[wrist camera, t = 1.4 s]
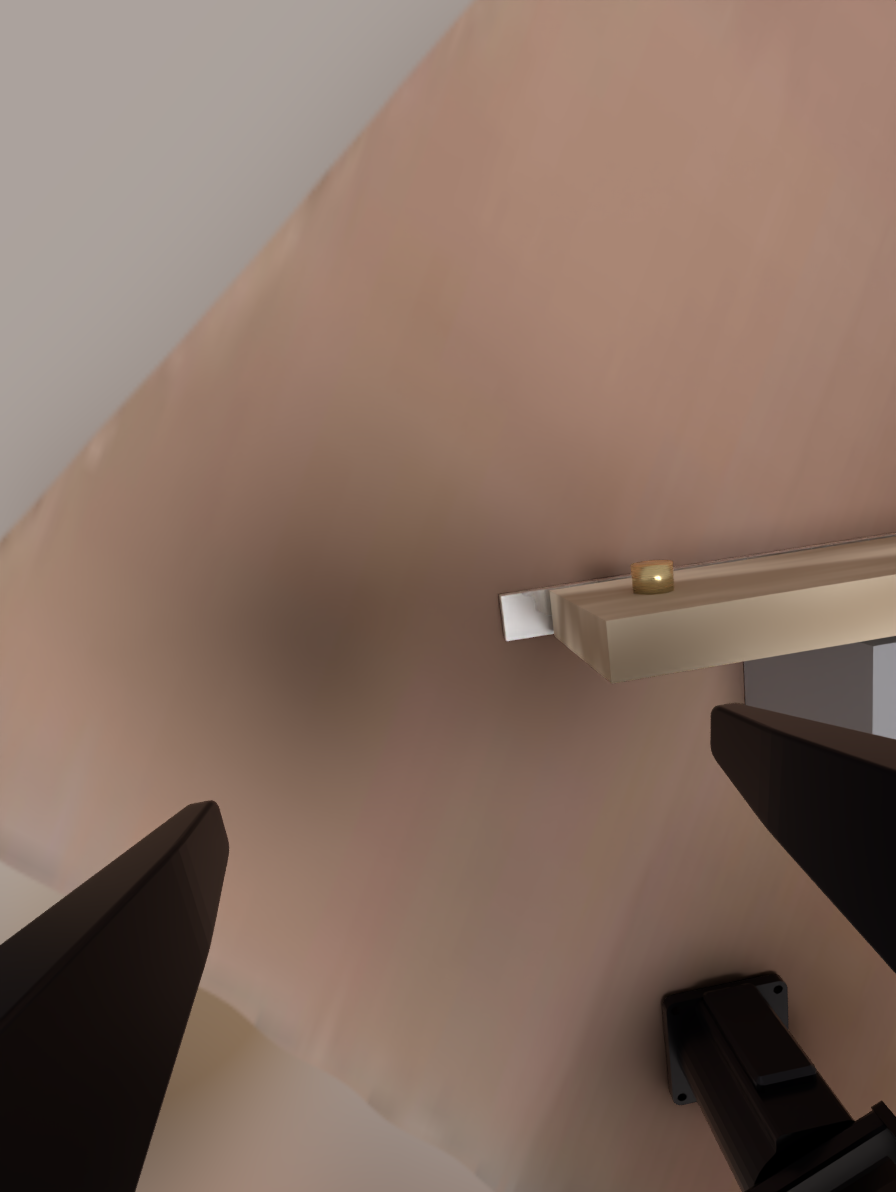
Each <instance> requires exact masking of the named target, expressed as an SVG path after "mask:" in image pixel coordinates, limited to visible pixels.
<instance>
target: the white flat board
mask: <svg viewBox="0 0 896 1192" xmlns="http://www.w3.org/2000/svg"><path fill="white" fill-rule="evenodd" d="M894 536H896V532H895V533H889V534H882V535H876V536H869V537H863V538H856V539H850V540H844V541H837V542H831V543H824V544H818V545H812V546H805V547H799V548H792V549H786V550H779V551H773V552H767V553H760V554H754V555H747V556H741V557H735V558H728V559H722V560H715V561H709V562H702V563H696V564H690V565H683V566H677V567H673V571H677V570H683V569H690V568H696V567H702V566H709V565H715V564H722V563H728V562H734V561H741V560H747V559H754V558H760V557H766V556H773V555H779V554H786V553H792V552H798V551H805V550H811V549H818V548H824V547H830V546H837V545H843V544H850V543H856V542H862V541H869V540H875V539H882V538H888V537H894ZM626 578H632V575H631V574H626V575H619V576H613V577H606V578H600V579H593V580H587V581H581V582H574V583H568V584H561V585H555V586H549V587H542V588H536V589H529V590H523V591H516V592H510V593H504V594H499V601H500V609H501V617H502V625H503V633H504V639H505V640H506V641H512V640H518V639H524V638H530V637H536V636H543V635H549V634H554V628H553V619H552V610H551V600H550V591H549V590H555V589H562V588H568V587H575V586H581V585H587V584H594V583H600V582H607V581H613V580H619V579H626Z"/></svg>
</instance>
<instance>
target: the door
mask: <svg viewBox="0 0 896 1192" xmlns="http://www.w3.org/2000/svg"><path fill="white" fill-rule="evenodd" d="M631 575H632V578H626V579H619V580H613V581H607V582H600V583H594V584H587V585H581V586H575V587H568V588H562V589H555V590H549V591H550V600H551V610H552V619H553V628H554V636H555V637H556V638H557V639H558V640H559V641H561V642H562V643H563V644H564V645H565V646H567V647H568V648H569V649H570V650H572V651H573V652H574V653H575V654H576V655H578V656H579V657H580V658H581V659H582V660H584V661H585V662H586V663H587V664H588V665H590V666H591V667H592V668H593V669H594V670H596V671H597V672H598V673H599V674H600V675H602V676H603V677H604V678H605V679H606V680H608V681H609V682H610V683H611V684H613V683H619V682H625V681H631V680H637V679H643V678H649V677H655V676H661V675H667V674H672V673H678V672H684V671H690V670H696V669H702V668H708V667H714V666H720V665H726V664H732V663H738V662H743V661H749V660H755V659H761V658H767V657H773V656H779V655H785V654H791V653H797V652H803V651H809V650H814V649H820V648H826V647H832V646H838V645H844V644H850V643H856V642H862V641H868V640H874V639H880V638H885V637H891V636H896V536H894V537H888V538H882V539H875V540H869V541H862V542H856V543H850V544H843V545H837V546H830V547H824V548H818V549H811V550H805V551H798V552H792V553H786V554H779V555H773V556H766V557H760V558H754V559H747V560H741V561H734V562H728V563H722V564H715V565H709V566H702V567H696V568H690V569H683V570H677V571H673V561H670V560H651V561H642V562H637V563H633V564H631Z"/></svg>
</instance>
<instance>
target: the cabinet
mask: <svg viewBox="0 0 896 1192" xmlns="http://www.w3.org/2000/svg"><path fill="white" fill-rule="evenodd" d="M744 679H745V705H748V706H753V707H757V708H761V709H766V710H770V711H775V712H779V713H783V714H788V715H792V716H796V717H801V718H805V719H809V720H814V721H818V722H822V723H827V724H831V725H835V726H840V727H844V728H849V729H853V730H857V731H862V732H866V733H870V734H875V735H879V736H883V737H888V738H892V739H896V636H891V637H885V638H880V639H874V640H868V641H862V642H856V643H850V644H844V645H838V646H832V647H826V648H820V649H814V650H809V651H803V652H797V653H791V654H785V655H779V656H773V657H767V658H761V659H755V660H749V661H744Z"/></svg>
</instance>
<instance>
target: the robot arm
mask: <svg viewBox="0 0 896 1192" xmlns="http://www.w3.org/2000/svg"><path fill="white" fill-rule="evenodd" d="M710 745H711V751H712V754H713V756H714V758H715V760H716V761H717V763H718V764H719V765H720V767H721V768H722V769H723V771H724V772H725V773H726V775H727V776H728V777H729V779H730V780H731V782H732V783H733V784H734V786H735V787H736V788H737V790H738V791H739V792H740V794H741V795H742V796H743V798H744V799H745V800H746V802H747V803H748V804H749V806H750V807H751V809H752V810H753V811H754V813H755V814H756V815H757V817H758V818H759V819H760V820H761V822H762V823H763V824H764V826H765V827H766V828H767V829H768V831H769V832H770V833H771V834H772V835H773V836H774V838H775V839H776V840H777V841H778V842H779V843H780V844H781V846H782V847H783V848H784V849H785V850H786V851H787V852H788V853H789V855H790V856H791V857H792V858H793V859H794V860H795V861H796V862H797V864H798V865H799V866H800V867H801V868H802V869H803V870H804V871H805V873H806V874H807V875H808V876H809V877H810V878H811V879H812V880H813V881H814V883H815V884H816V885H817V886H818V887H819V888H820V889H821V890H822V892H823V893H824V894H825V895H826V896H827V897H828V898H829V899H830V901H831V902H832V903H833V904H834V905H835V906H836V907H837V908H838V909H839V911H840V912H841V913H842V914H843V915H844V916H845V917H846V918H847V920H848V921H849V922H850V923H851V924H852V925H853V926H854V927H855V929H856V930H857V931H858V932H859V933H860V934H861V935H862V936H863V938H864V939H865V940H866V941H867V942H868V943H869V944H870V945H871V946H872V948H873V949H874V950H875V951H876V952H877V953H878V954H879V955H880V957H881V958H882V959H883V960H884V961H885V962H886V963H887V964H888V966H889V967H890V968H891V969H892V970H893V971H894V972H895V973H896V739H892V738H888V737H883V736H879V735H875V734H870V733H866V732H862V731H857V730H853V729H849V728H844V727H840V726H835V725H831V724H827V723H822V722H818V721H814V720H809V719H805V718H801V717H796V716H792V715H788V714H783V713H779V712H775V711H770V710H766V709H761V708H757V707H753V706H748V705H744V704H740V703H729V704H724V705H718V706H715V707H714V708H713V709H712V712H711V741H710ZM228 856H229V842H228V838H227V834H226V830H225V827H224V823H223V820H222V816H221V813H220V809H219V806H218V805H217V803H216V802H215V801H213V800H211V801H204V802H199V803H194V804H190V805H188V806H186V807H185V808H184V809H182V810H181V811H180V812H178V813H177V814H176V815H174V816H173V817H171V818H170V819H169V820H167V821H166V822H165V823H163V824H162V825H161V826H159V827H158V828H157V829H155V830H154V831H153V832H151V833H150V834H149V835H147V836H146V837H145V838H143V839H142V840H141V841H139V842H138V843H137V844H135V845H134V846H133V847H131V848H130V849H129V850H127V851H126V852H124V853H123V854H122V855H120V856H119V857H118V858H116V859H115V860H114V861H112V862H111V863H110V864H108V865H107V866H106V867H104V868H103V869H102V870H100V871H99V872H98V873H96V874H95V875H94V876H92V877H91V878H90V879H88V880H87V881H86V882H84V883H83V884H82V885H80V886H79V887H77V888H76V889H75V890H73V891H72V892H71V893H69V894H68V895H67V896H65V897H64V898H63V899H61V900H60V901H59V902H57V903H56V904H55V905H53V906H52V907H51V908H49V909H48V910H47V911H45V912H44V913H43V914H41V915H40V916H39V917H37V918H36V919H35V920H33V921H32V922H31V923H29V924H28V925H27V926H25V927H24V928H23V929H21V930H20V931H18V932H17V933H16V934H15V935H13V936H12V937H10V938H9V939H8V940H6V941H5V942H4V943H2V944H1V945H0V1192H135V1191H136V1188H137V1184H138V1181H139V1178H140V1174H141V1171H142V1168H143V1165H144V1161H145V1158H146V1155H147V1152H148V1148H149V1145H150V1141H151V1139H152V1135H153V1132H154V1129H155V1126H156V1123H157V1119H158V1116H159V1113H160V1110H161V1106H162V1103H163V1100H164V1097H165V1093H166V1090H167V1087H168V1084H169V1080H170V1077H171V1074H172V1071H173V1067H174V1064H175V1061H176V1057H177V1054H178V1051H179V1048H180V1045H181V1042H182V1038H183V1034H184V1032H185V1029H186V1025H187V1022H188V1018H189V1015H190V1012H191V1009H192V1006H193V1002H194V999H195V996H196V993H197V990H198V986H199V983H200V980H201V977H202V973H203V970H204V967H205V963H206V960H207V956H208V953H209V949H210V945H211V941H212V936H213V932H214V927H215V922H216V917H217V912H218V906H219V901H220V896H221V891H222V886H223V881H224V876H225V871H226V866H227V861H228ZM662 1007H663V1019H664V1032H665V1045H666V1057H667V1070H668V1083H669V1092H670V1094H671V1097H672V1099H673V1101H674V1103H676V1104H678V1105H684V1104H689V1103H693V1102H698V1104H699V1106H700V1108H701V1110H702V1112H703V1114H704V1116H705V1118H706V1120H707V1122H708V1124H709V1126H710V1128H711V1130H712V1132H713V1134H714V1136H715V1138H716V1141H717V1143H718V1145H719V1147H720V1149H721V1151H722V1153H723V1155H724V1157H725V1159H726V1161H727V1163H728V1165H729V1167H730V1169H731V1171H732V1173H733V1175H734V1177H735V1179H736V1181H737V1183H738V1185H739V1187H740V1189H741V1191H742V1192H896V1116H895V1115H894V1114H893V1113H892V1112H891V1111H890V1109H889V1108H888V1107H887V1106H886V1105H885V1104H884V1102H883V1101H880V1102H878V1103H877V1104H875V1105H874V1106H872V1107H871V1108H872V1111H871V1112H869V1113H868V1114H866V1115H865V1116H863V1117H861V1118H860V1119H858V1120H857V1121H854V1120H853V1118H852V1117H851V1115H850V1114H849V1113H848V1111H847V1110H846V1109H845V1107H844V1106H843V1105H842V1103H841V1102H840V1101H839V1099H838V1098H837V1097H836V1095H835V1094H834V1092H833V1091H832V1090H831V1088H830V1087H829V1086H828V1084H827V1083H826V1082H825V1080H824V1079H823V1078H822V1076H821V1075H820V1074H819V1072H818V1071H817V1069H816V1068H815V1066H814V1064H813V1063H812V1062H811V1060H810V1059H809V1057H808V1056H807V1055H806V1053H805V1052H804V1051H803V1049H802V1048H801V1047H800V1045H799V1044H798V1043H797V1041H796V1040H795V1039H794V1037H793V1036H792V1035H791V1033H790V1032H789V1030H788V996H787V985H786V983H785V982H784V981H783V980H782V978H781V977H780V976H779V975H777V974H771V975H766V976H762V977H757V978H752V979H747V980H742V981H738V982H733V983H728V984H723V985H719V986H714V987H709V988H704V989H699V990H695V991H690V992H685V993H680V994H675V995H671V996H668V997H667V998H665V999H664V1001H663V1005H662Z"/></svg>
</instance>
